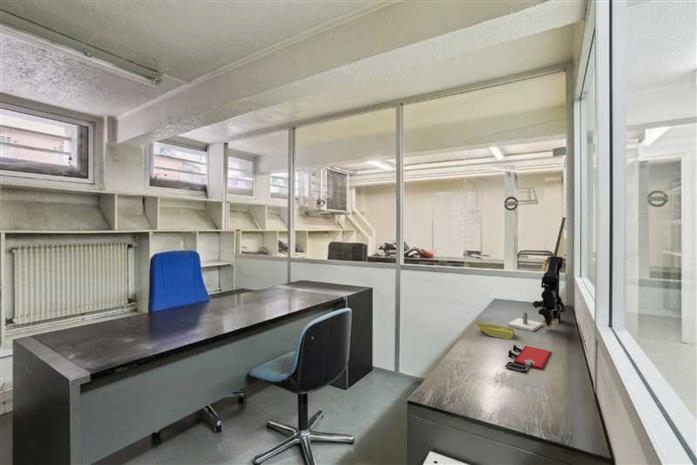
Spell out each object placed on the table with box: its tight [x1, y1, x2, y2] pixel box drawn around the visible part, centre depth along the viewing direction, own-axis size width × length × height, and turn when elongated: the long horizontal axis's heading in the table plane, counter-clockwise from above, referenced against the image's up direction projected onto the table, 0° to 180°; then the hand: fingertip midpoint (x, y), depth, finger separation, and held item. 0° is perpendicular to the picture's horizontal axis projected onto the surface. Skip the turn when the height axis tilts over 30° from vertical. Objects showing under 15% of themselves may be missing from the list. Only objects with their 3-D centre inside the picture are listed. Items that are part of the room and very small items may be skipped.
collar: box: [542, 317, 559, 330], centre depth 190 cm, size 6×6×4 cm
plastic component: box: [475, 319, 515, 340], centre depth 187 cm, size 20×7×10 cm
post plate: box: [507, 311, 544, 332], centre depth 199 cm, size 15×14×8 cm
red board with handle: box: [504, 344, 552, 373], centre depth 153 cm, size 30×3×15 cm
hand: (550, 324), depth 190 cm, fingers closed on collar, 6 cm apart
